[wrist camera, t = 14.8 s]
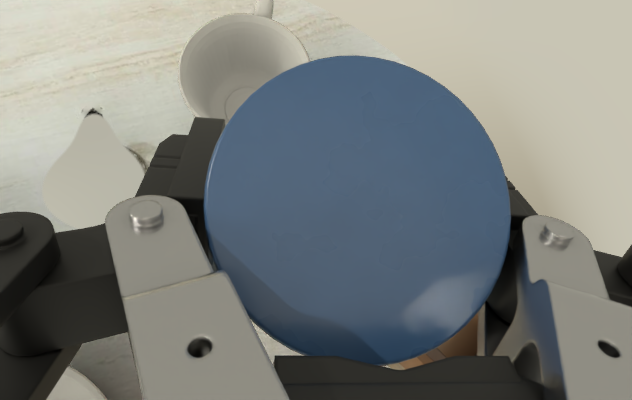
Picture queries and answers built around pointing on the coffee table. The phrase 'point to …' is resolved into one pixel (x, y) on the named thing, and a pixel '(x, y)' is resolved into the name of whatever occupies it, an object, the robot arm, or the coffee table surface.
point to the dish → (75, 387)
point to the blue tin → (357, 210)
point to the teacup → (235, 60)
